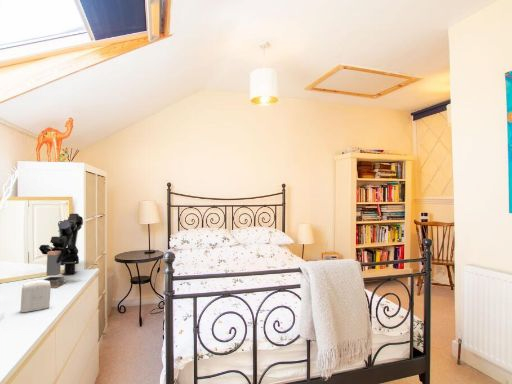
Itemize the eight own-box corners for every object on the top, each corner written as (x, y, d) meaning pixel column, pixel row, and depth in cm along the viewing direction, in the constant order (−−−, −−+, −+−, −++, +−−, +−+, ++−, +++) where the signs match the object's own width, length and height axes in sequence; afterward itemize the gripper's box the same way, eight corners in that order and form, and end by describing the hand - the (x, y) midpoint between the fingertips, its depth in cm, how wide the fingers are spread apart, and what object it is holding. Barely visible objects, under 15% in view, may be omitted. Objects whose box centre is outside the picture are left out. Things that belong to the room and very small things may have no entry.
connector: (51, 273, 169) (52, 250, 169) (60, 273, 169) (61, 250, 170) (46, 275, 164) (47, 251, 165) (55, 275, 165) (56, 252, 165)
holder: (48, 283, 171) (49, 276, 171) (65, 283, 171) (66, 276, 171) (38, 288, 162) (39, 280, 162) (56, 288, 162) (57, 280, 163)
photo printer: (48, 305, 137) (49, 277, 137) (50, 308, 134) (51, 279, 134) (19, 310, 130) (21, 281, 130) (21, 313, 126) (22, 283, 127)
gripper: (41, 230, 170) (27, 253, 159) (76, 231, 172) (65, 254, 161) (49, 242, 178) (36, 265, 167) (82, 243, 180) (72, 266, 168)
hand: (52, 262), depth 166 cm, fingers closed on connector, 5 cm apart
